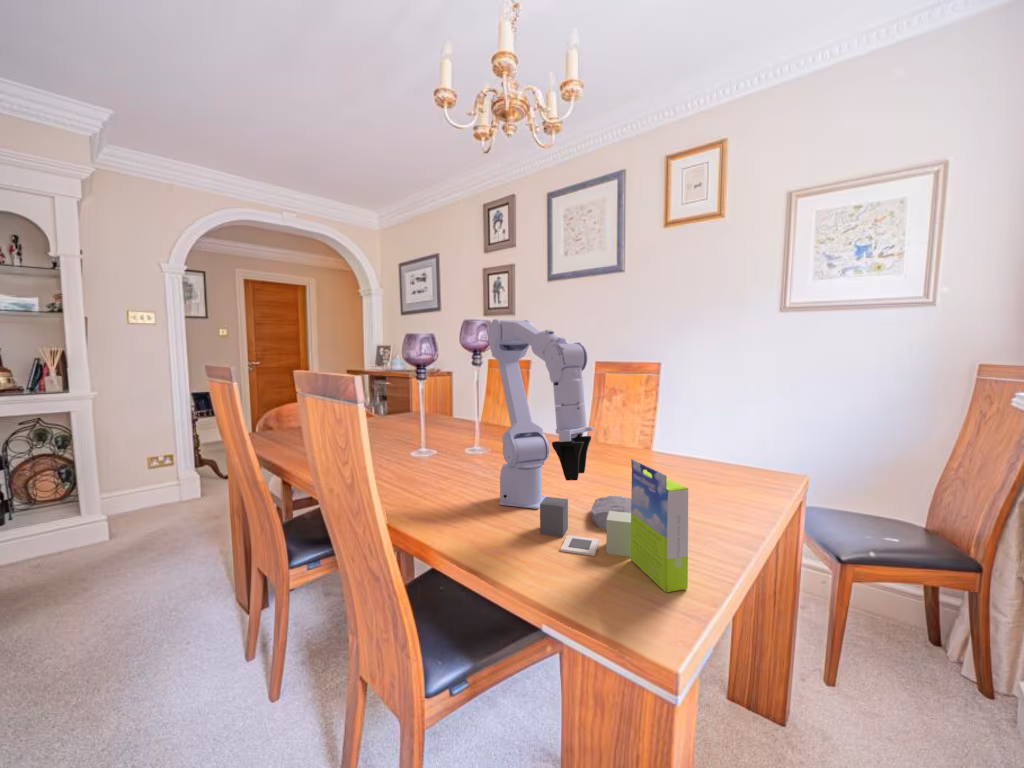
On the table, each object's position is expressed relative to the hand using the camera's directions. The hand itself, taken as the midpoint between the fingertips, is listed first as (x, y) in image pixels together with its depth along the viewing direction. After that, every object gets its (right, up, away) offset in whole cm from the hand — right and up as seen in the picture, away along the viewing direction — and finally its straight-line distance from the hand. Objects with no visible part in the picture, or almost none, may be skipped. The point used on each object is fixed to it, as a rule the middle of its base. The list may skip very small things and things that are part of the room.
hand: (575, 476), depth 80 cm
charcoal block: (-4, -11, +2) cm, 12 cm away
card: (0, -12, -4) cm, 12 cm away
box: (+11, -12, -14) cm, 22 cm away
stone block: (+10, -11, +8) cm, 17 cm away
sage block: (+7, -12, -6) cm, 15 cm away
